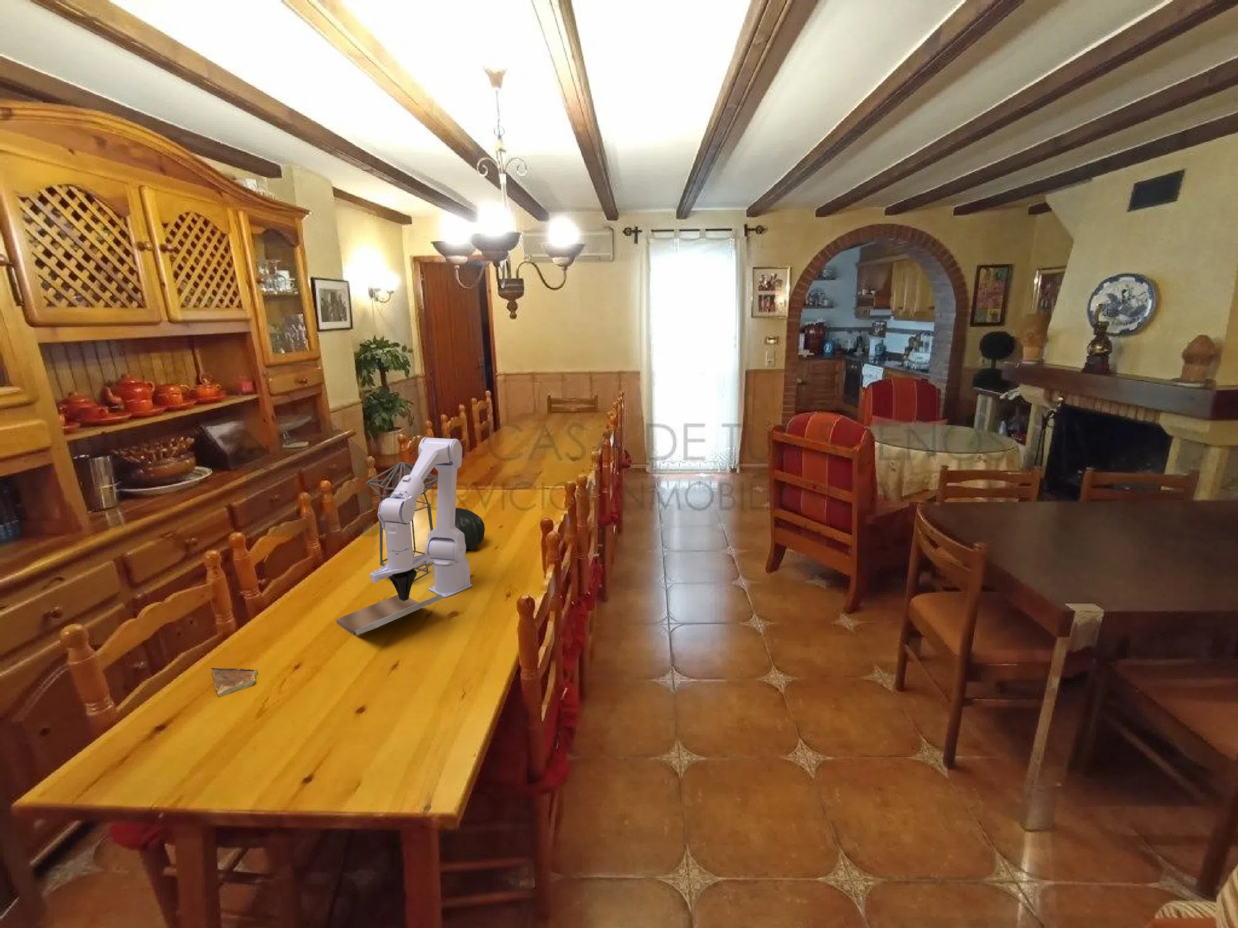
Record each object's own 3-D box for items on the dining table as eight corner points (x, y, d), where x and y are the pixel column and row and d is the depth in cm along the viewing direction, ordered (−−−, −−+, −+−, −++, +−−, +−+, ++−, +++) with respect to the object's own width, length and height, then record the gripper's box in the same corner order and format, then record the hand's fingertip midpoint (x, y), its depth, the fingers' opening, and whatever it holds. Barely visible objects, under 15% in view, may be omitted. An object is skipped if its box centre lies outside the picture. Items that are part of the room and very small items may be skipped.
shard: (212, 673, 120) (210, 666, 120) (253, 660, 125) (252, 653, 125) (217, 699, 112) (215, 692, 112) (261, 684, 117) (260, 677, 117)
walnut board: (401, 596, 154) (401, 593, 154) (420, 607, 149) (420, 603, 148) (336, 623, 140) (336, 619, 140) (354, 635, 135) (354, 631, 134)
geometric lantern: (370, 579, 164) (360, 464, 156) (412, 561, 178) (404, 454, 170) (408, 591, 157) (399, 471, 149) (449, 571, 170) (442, 460, 163)
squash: (498, 525, 194) (468, 493, 191) (484, 543, 179) (451, 509, 177) (470, 548, 197) (441, 517, 195) (454, 567, 183) (422, 534, 181)
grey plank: (422, 606, 148) (420, 602, 148) (442, 598, 141) (440, 594, 141) (356, 634, 134) (354, 630, 134) (375, 628, 127) (373, 623, 127)
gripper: (417, 534, 139) (420, 583, 143) (361, 551, 128) (366, 605, 131) (433, 541, 135) (437, 591, 138) (377, 560, 124) (382, 614, 127)
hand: (404, 598), depth 135 cm, fingers closed
